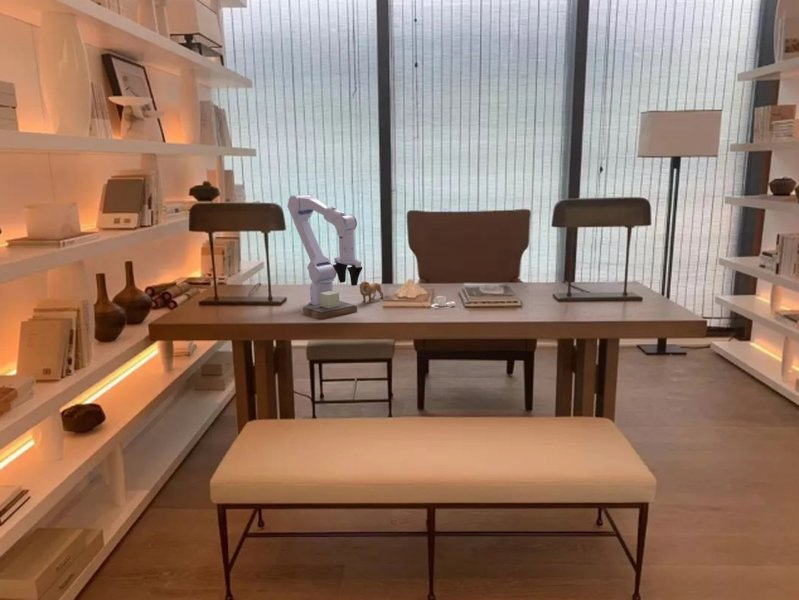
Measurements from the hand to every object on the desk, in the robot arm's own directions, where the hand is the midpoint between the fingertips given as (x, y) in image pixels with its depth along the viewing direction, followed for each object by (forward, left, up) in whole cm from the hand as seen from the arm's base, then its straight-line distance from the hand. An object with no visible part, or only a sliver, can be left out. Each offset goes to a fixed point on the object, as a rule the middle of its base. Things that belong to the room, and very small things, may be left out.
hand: (348, 283), depth 237 cm
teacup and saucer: (+23, +28, -11) cm, 38 cm away
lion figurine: (-5, +15, -10) cm, 18 cm away
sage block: (-1, -8, -7) cm, 11 cm away
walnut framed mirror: (-1, -8, -10) cm, 13 cm away
